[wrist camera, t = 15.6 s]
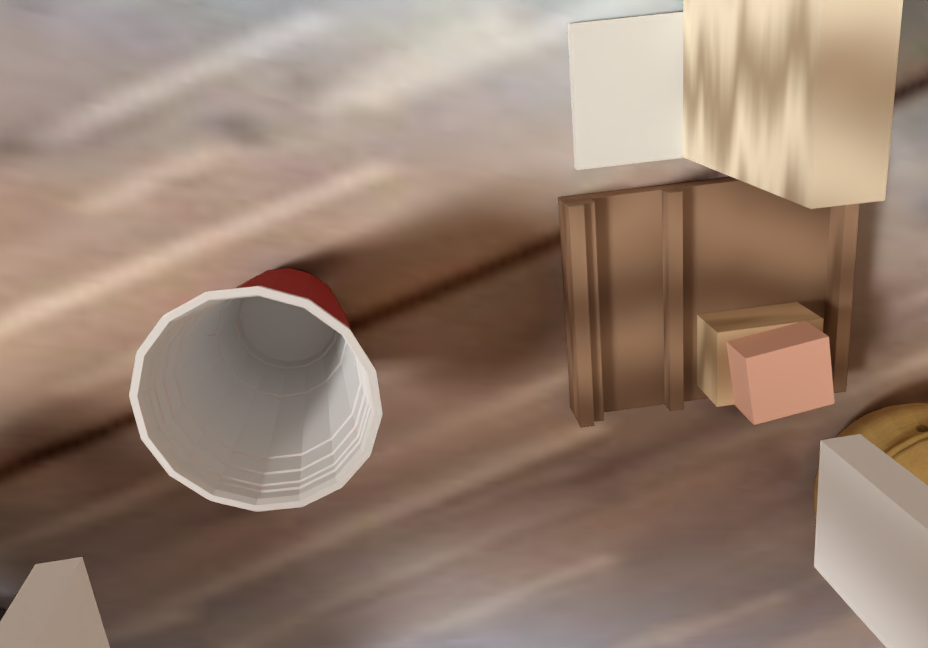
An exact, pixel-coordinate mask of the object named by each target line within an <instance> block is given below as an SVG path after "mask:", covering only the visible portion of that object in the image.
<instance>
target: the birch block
mask: <svg viewBox="0 0 928 648" xmlns="http://www.w3.org/2000/svg"><path fill="white" fill-rule="evenodd" d="M902 7H903V0H683V157H684V158H686V159H689V160H691V161H694V162H696V163H699V164H701V165H703V166H706V167H708V168H711V169H713V170H716V171H718V172H721V173H723V174H726V175H728V176H731V177H733V178H736V179H738V180H740V181H743V182H745V183H748V184H750V185H753V186H755V187H758V188H760V189H763V190H765V191H768V192H770V193H773V194H775V195H777V196H780V197H782V198H785V199H787V200H790V201H792V202H795V203H797V204H800V205H802V206H805V207H807V208H810V209H815V208H824V207H833V206H841V205H850V204H859V203H868V202H877V201H885V195H886V184H887V173H888V162H889V151H890V140H891V129H892V118H893V107H894V96H895V85H896V74H897V63H898V52H899V40H900V29H901V18H902Z"/></svg>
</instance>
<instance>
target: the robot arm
mask: <svg viewBox="0 0 928 648" xmlns="http://www.w3.org/2000/svg"><path fill="white" fill-rule="evenodd" d="M814 567H815V568H816V570H817V571H818V572H819V573H820V574H821V575H822V576H823V577H824V578H825V580H826V581H827V582H828V583H829V584H830V585H831V586H832V587H833V589H834V590H835V591H836V592H837V593H838V594H839V595H840V596H841V598H842V599H843V600H844V601H845V602H846V603H847V604H848V605H849V607H850V608H851V609H852V610H853V611H854V612H855V613H856V614H857V615H858V617H859V618H860V619H861V620H862V621H863V622H864V623H865V624H866V626H867V627H868V628H869V629H870V630H871V631H872V632H873V633H874V635H875V636H876V637H877V638H878V639H879V640H880V641H881V642H882V644H883V645H884V646H885V647H886V648H928V485H926V484H925V483H924V482H923V481H921V480H920V479H919V478H917V477H916V476H915V475H913V474H912V473H911V472H909V471H908V470H907V469H905V468H904V467H903V466H901V465H900V464H899V463H897V462H896V461H895V460H894V459H892V458H891V457H890V456H888V455H887V454H886V453H884V452H883V451H882V450H880V449H879V448H878V447H876V446H875V445H874V444H872V443H871V442H870V441H869V440H867V439H866V438H865V437H863V436H862V435H861V434H857V435H850V436H844V437H838V438H831V439H825V440H820V459H819V478H818V498H817V517H816V537H815V556H814ZM0 648H110V646H109V643H108V640H107V637H106V633H105V630H104V627H103V623H102V620H101V617H100V613H99V610H98V607H97V604H96V600H95V597H94V594H93V590H92V587H91V584H90V580H89V577H88V574H87V571H86V567H85V564H84V561H83V557H78V558H72V559H65V560H59V561H53V562H46V563H40V564H35V566H34V567H33V569H32V570H31V572H30V574H29V575H28V577H27V579H26V580H25V582H24V584H23V585H22V587H21V588H20V590H19V592H18V593H17V595H16V597H15V598H14V600H13V602H12V603H11V605H10V606H9V608H8V610H7V611H4V610H1V609H0Z"/></svg>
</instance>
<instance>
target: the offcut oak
mask: <svg viewBox="0 0 928 648" xmlns="http://www.w3.org/2000/svg"><path fill="white" fill-rule="evenodd" d="M802 321H807V322H808V323H810V324H811V325H813V326H814V327H815V328H817V329H818V330H820V331H821V332H823V318H821V317H820V316H818V315H817V314H815V313H814V312H812V311H810V310H809V309H807V308H806V307H804V306H803V305H801V304H799V303H798V302H793V303H785V304H778V305H770V306H762V307H754V308H747V309H739V310H731V311H723V312H715V313H708V314H700V315H697V386H698V387H699V388H700V389H701V390H702V391H703V392H704V393H705V395H706V396H707V397H708V398H709V399H710V400H711V401H712V402H713V403H714V404H715V405H716V407H719V406H727V405H734V404H735V403H734V396H733V388H732V381H731V373H730V366H729V359H728V351H727V344H726V341H730V340H734V339H737V338H741V337H745V336H749V335H752V334H756V333H760V332H764V331H768V330H771V329H775V328H779V327H783V326H786V325H790V324H794V323H798V322H802Z"/></svg>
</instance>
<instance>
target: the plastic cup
mask: <svg viewBox="0 0 928 648" xmlns="http://www.w3.org/2000/svg"><path fill="white" fill-rule="evenodd" d="M129 398H130V401H131V405H132V409H133V412H134V416H135V420H136V423H137V427H138V430H139V434H140V438H141V440H142V441H143V442H144V444H145V445H146V446H147V448H148V449H149V450H150V451H151V453H152V454H153V455H154V456H155V458H156V459H157V460H158V462H159V463H160V464H161V465H162V467H163V468H164V469H165V471H166V472H167V473H168V474H169V476H171V477H172V478H174V479H176V480H177V481H179V482H180V483H182V484H184V485H185V486H187V487H188V488H190V489H192V490H193V491H195V492H196V493H198V494H200V495H201V496H203V497H204V498H206V499H208V500H209V501H212V502H217V503H221V504H225V505H230V506H234V507H238V508H242V509H247V510H251V511H255V512H259V511H269V510H278V509H288V508H298V507H304V506H306V505H308V504H310V503H312V502H314V501H316V500H318V499H320V498H322V497H324V496H326V495H328V494H330V493H332V492H334V491H336V490H338V489H340V488H342V487H343V486H344V485H345V484H346V483H347V482H348V480H349V479H350V478H351V477H352V476H353V475H354V474H355V472H356V471H357V470H358V469H359V468H360V467H361V466H362V464H363V463H364V462H365V461H366V460H367V459H368V458H369V457H370V455H371V452H372V449H373V445H374V442H375V438H376V435H377V432H378V428H379V425H380V422H381V418H382V415H383V414H382V407H381V401H380V394H379V388H378V381H377V375H376V370H375V368H374V366H373V364H372V363H371V361H370V360H369V358H368V357H367V355H366V353H365V352H364V350H363V349H362V347H361V346H360V344H359V342H358V341H357V339H356V338H355V336H354V335H353V333H352V331H351V328H350V325H349V322H348V320H347V317H346V315H345V314H344V312H343V311H342V309H341V307H340V304H339V302H338V301H337V299H336V298H335V296H334V294H333V293H332V291H331V290H330V288H329V287H328V286H327V285H326V284H325V283H323V282H322V281H320V280H319V279H318V278H316V277H315V276H313V275H312V274H311V273H307V272H303V271H299V270H295V269H291V268H284V269H276V270H268V271H266V272H264V273H262V274H260V275H258V276H256V277H254V278H252V279H250V280H249V281H247V282H245V283H243V284H242V285H240V286H238V287H236V288H233V289H224V290H214V291H207V292H205V293H203V294H201V295H199V296H197V297H196V298H194V299H192V300H190V301H188V302H186V303H185V304H183V305H181V306H179V307H177V308H175V309H174V310H172V311H170V312H168V313H166V314H164V315H163V316H162V318H161V319H160V320H159V322H158V323H157V325H156V326H155V327H154V329H153V330H152V331H151V333H150V334H149V335H148V337H147V338H146V340H145V341H144V342H143V344H142V345H141V346H140V348H139V349H138V351H137V352H136V358H135V363H134V369H133V375H132V381H131V386H130V392H129Z"/></svg>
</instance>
